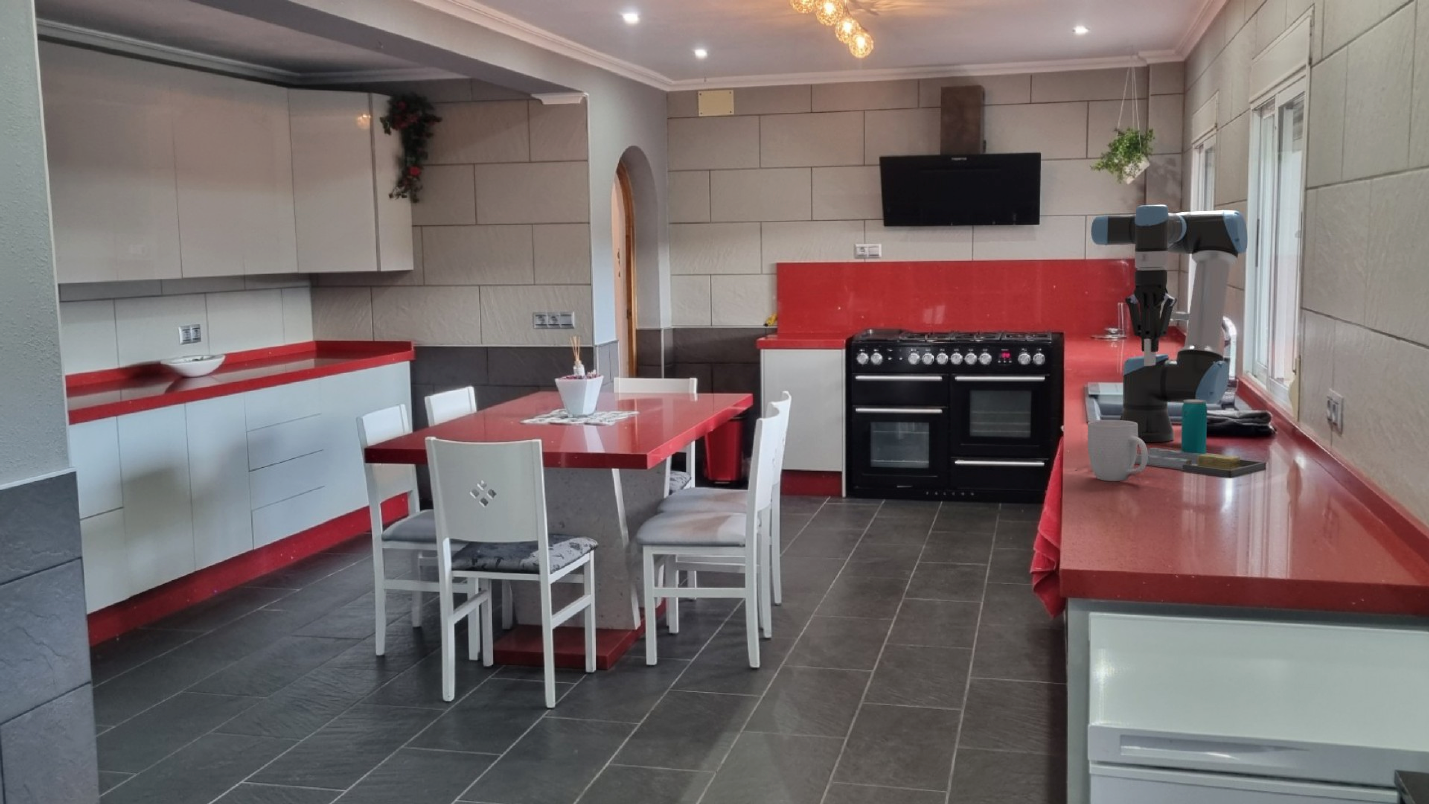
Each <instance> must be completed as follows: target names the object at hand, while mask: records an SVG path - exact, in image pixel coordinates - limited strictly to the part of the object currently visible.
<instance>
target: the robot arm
mask: <svg viewBox="0 0 1429 804" xmlns="http://www.w3.org/2000/svg"><path fill="white" fill-rule="evenodd" d="M1092 220H1093V221H1092V223H1091V227H1090V228H1091V229H1090V234H1091V239H1092V242H1093V243H1094V244H1095V245H1097V246H1098V245H1099V246H1113V245H1115V246H1117V245H1118V246H1134V268H1135V269H1136V270H1135V271H1134V285H1135V287H1134V291H1133V294H1132V295H1130V296H1127V297H1125V298H1124V301H1125V303H1126V305H1127V307H1128V311H1129V316H1130V320H1131V321H1130V322H1131V325H1132V331H1133V335H1134V337H1135V336H1136V337H1140V341H1141V346H1140V347H1141V348H1140V349H1141V352H1143V355H1140V356H1139V355H1138V356H1133V357H1127V359H1126V360H1125V361H1124V363H1123V370H1122V371H1123V372H1122V412H1121V415H1120V418H1119V420H1123V421H1132V422H1136V423H1137V424H1138V438H1140V439H1141V440H1143V442H1144V443H1163V442H1171V441H1172V440H1174V437H1175V435H1174V434H1175V433H1174V432H1175V431H1174V429H1173V425H1172V422H1171V418H1170V416H1169V411H1168V403H1178V404H1179V403H1180V404H1184V400H1188V399H1199V400H1205V401H1206V402H1205V403H1206V405H1214V404H1215V405H1216V404H1217V403H1219V402H1220V401H1221V400H1222V398H1223V397H1224V395H1225V394H1226V391H1227V388H1228V384H1229V379H1230V375H1229V373H1230V368H1229V364H1228V363H1227V362H1226V361H1224V354H1222V353H1221V351H1219V349H1220V342H1221V335H1222V334H1221V333H1222V326H1223V320H1224V314H1225V313H1224V312H1225V306H1226V298H1227V291H1228V285H1229V278H1230V277H1229V276H1230V271H1231V266H1233V265H1234V264H1236V263H1237V262H1238V259H1239V258H1238V256H1239V255H1241V254H1244V253H1245V252H1246V251H1247V249H1248V241H1249V240H1248V229H1247V223H1246V221H1245V218H1244V215H1243V214H1242V212H1240V211H1238V210H1228V209H1227V210H1225V209H1222V210H1203V211H1183V212H1176V213H1175V212H1169V208H1168V206H1167V205H1166V204H1151V205H1150V204H1149V205H1147V204H1146V205H1139V206H1137V208H1136V209H1135V213H1134V214H1113V215H1112V214H1111V215H1108V214H1106V215H1098V216H1096V217H1094V219H1092ZM1168 253H1173V254H1174V253H1175V254H1182V255H1191V259H1192V260H1193V261H1194V262H1195V263H1196V265H1195V273H1194V279H1193V285H1192V287H1193V288H1192V293H1191V300H1190V306H1189V307H1190V308H1189V313H1188V314H1189V315H1188V320H1187V326H1186V327H1187V328H1186V334H1185V341H1184V346H1183V347H1182V348H1181V349H1179V350H1177V354H1176V355H1177V356H1176V359H1170V356H1169V354H1168V353H1159V354H1158V351H1159V348H1160V343H1159V340H1160V339H1161V338H1162V337H1165V336H1167V334H1168V330H1169V329H1168V328H1169V325H1170V322H1171V321H1170V320H1171V317H1172V313H1173V308H1174V306H1175V305H1176V303H1177V302H1178V298H1176V297H1173V296H1172V295H1170V294H1169V291H1168V289H1167V284H1168V270H1167V269H1166V268H1168ZM1138 303H1139V304H1138ZM1162 304H1163V306H1162ZM1156 353H1157V354H1156Z"/></svg>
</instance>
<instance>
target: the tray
mask: <svg viewBox="0 0 1429 804" xmlns="http://www.w3.org/2000/svg"><path fill="white" fill-rule="evenodd" d="M1266 464H1267V462H1266V461H1256V460H1250V459H1249V460H1248V459H1241V458H1240V468H1237V469H1233V470H1225V469H1217V468H1210V467H1202V466H1195V465H1187V464H1183V470H1182V472H1186V473H1193V474H1199V475H1200V474H1201V475H1208V476H1216V477H1223V478H1234V477H1239V476H1243V475H1247V474H1251V473H1255V472H1259V471H1263V470H1266V466H1267V465H1266Z"/></svg>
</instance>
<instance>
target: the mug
mask: <svg viewBox="0 0 1429 804" xmlns="http://www.w3.org/2000/svg"><path fill="white" fill-rule="evenodd" d="M1138 446H1139V449H1140V454H1141V455H1142V459H1141V464H1139V465H1138V467H1136V468H1134V467H1135V464H1136V463H1135V461H1136V455H1137V453H1138ZM1087 453H1088V460H1089V464H1090V467H1091V470H1092V472H1093V475H1094V476H1095V477H1096V479H1098V480H1099V481H1100V480H1101V481H1107V482H1122V481H1126V480H1127V479H1128V478H1129V477H1130V475H1131V474H1136V473H1140V472H1141V471H1143V470H1144V469H1145V468H1146V466H1147V465H1146V464H1147V461H1148V448H1147V445H1146V442H1143V440H1141V439H1140V438H1138V424H1137V423H1136V422H1132V421H1123V420H1120V419H1097V420H1091V421H1088V423H1087Z"/></svg>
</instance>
